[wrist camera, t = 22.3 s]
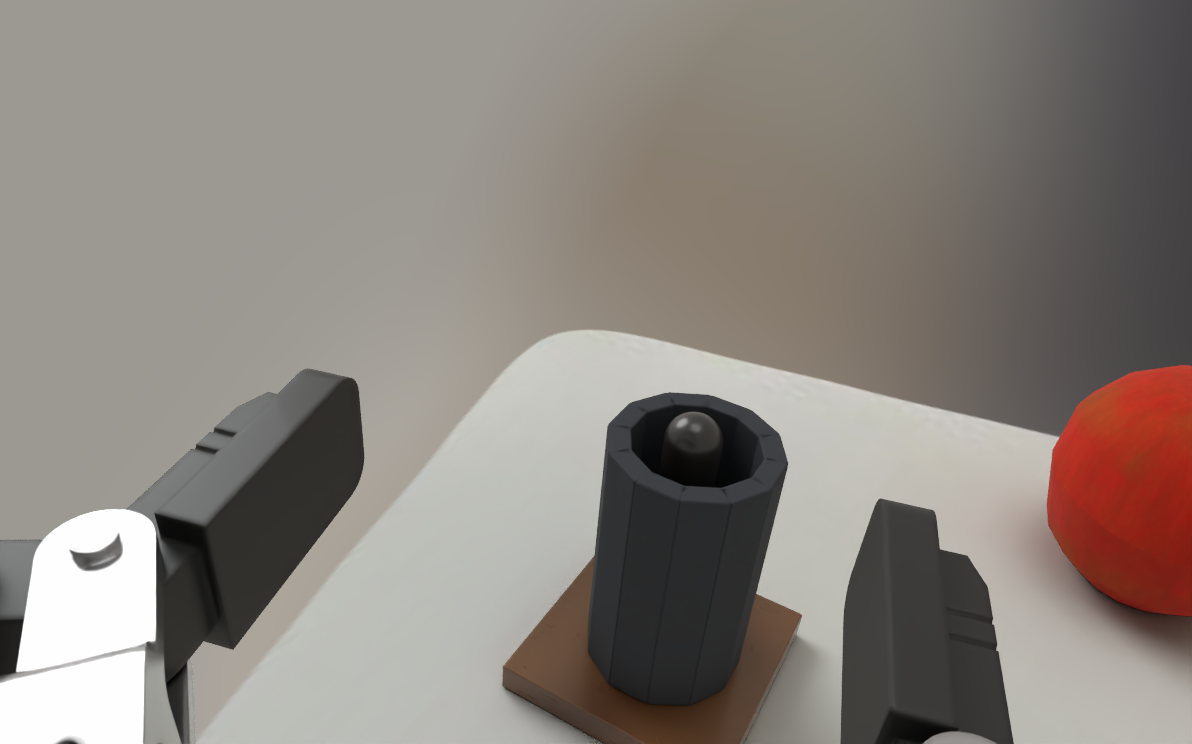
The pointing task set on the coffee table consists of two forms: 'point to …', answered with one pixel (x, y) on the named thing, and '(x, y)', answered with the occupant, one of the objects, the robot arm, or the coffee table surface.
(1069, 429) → the apple
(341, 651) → the coffee table surface
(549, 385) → the coffee table surface
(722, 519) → the sleeve
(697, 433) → the stand
